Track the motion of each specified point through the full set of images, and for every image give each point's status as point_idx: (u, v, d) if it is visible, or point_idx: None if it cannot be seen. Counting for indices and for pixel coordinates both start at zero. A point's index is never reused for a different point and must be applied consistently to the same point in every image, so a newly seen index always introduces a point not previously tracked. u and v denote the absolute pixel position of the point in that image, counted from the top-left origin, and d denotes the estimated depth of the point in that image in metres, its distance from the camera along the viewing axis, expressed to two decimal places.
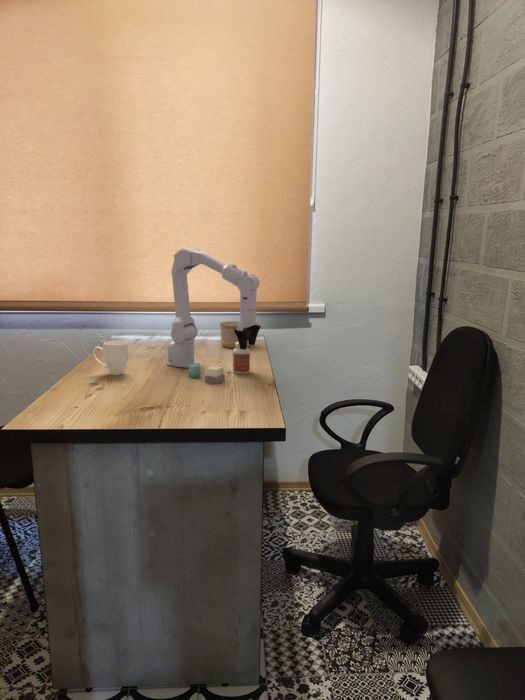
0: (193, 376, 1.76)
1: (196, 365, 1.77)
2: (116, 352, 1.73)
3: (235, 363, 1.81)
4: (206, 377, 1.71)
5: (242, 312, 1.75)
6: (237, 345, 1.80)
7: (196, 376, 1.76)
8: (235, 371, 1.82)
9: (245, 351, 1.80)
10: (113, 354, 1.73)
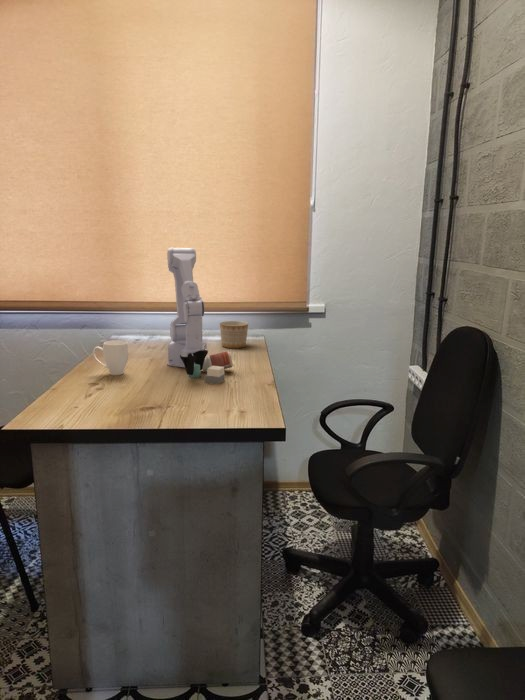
0: (193, 376, 1.76)
1: (196, 365, 1.77)
2: (116, 352, 1.73)
3: (222, 364, 1.81)
4: (206, 377, 1.71)
5: (187, 337, 1.72)
6: (203, 367, 1.81)
7: (196, 376, 1.76)
8: (230, 362, 1.81)
9: (207, 358, 1.81)
10: (113, 354, 1.73)
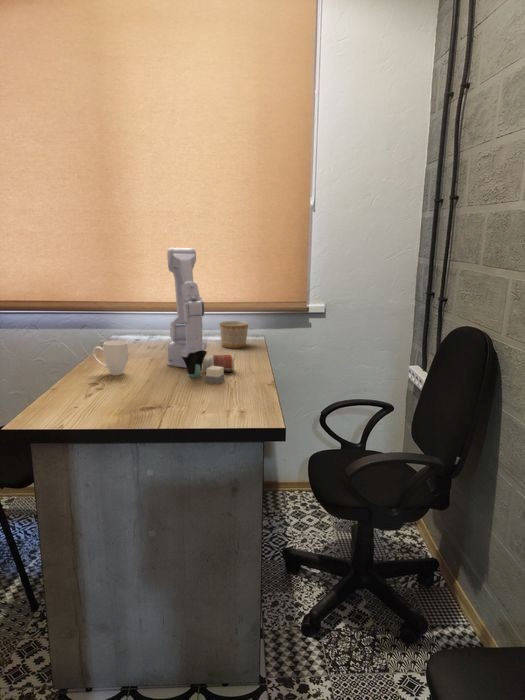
0: (193, 376, 1.76)
1: (196, 365, 1.77)
2: (116, 352, 1.73)
3: (223, 366, 1.81)
4: (206, 377, 1.71)
5: (187, 338, 1.72)
6: (205, 365, 1.80)
7: (196, 376, 1.76)
8: (231, 366, 1.82)
9: (210, 357, 1.81)
10: (113, 354, 1.73)
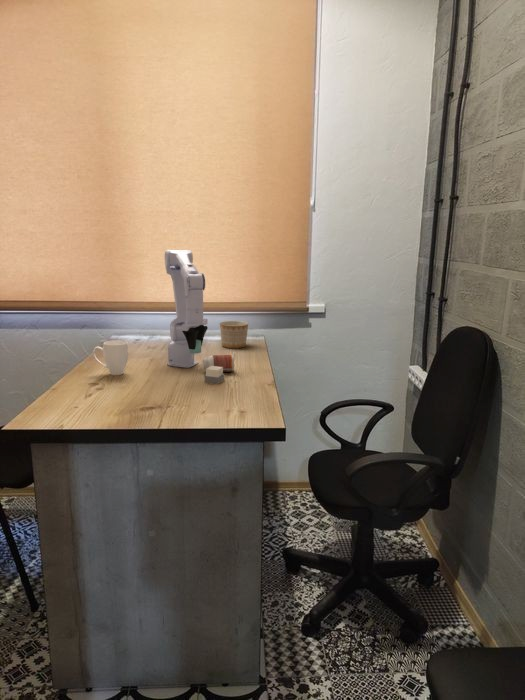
0: (194, 351, 1.73)
1: (197, 340, 1.75)
2: (116, 352, 1.73)
3: (223, 367, 1.81)
4: (206, 377, 1.71)
5: (188, 312, 1.70)
6: (205, 366, 1.80)
7: (197, 351, 1.74)
8: (231, 366, 1.82)
9: (210, 357, 1.81)
10: (113, 354, 1.73)
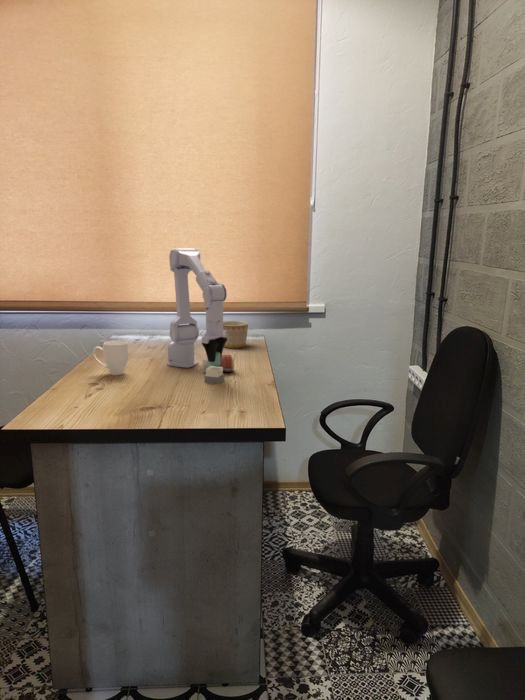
0: (213, 364, 1.69)
1: (216, 353, 1.71)
2: (116, 352, 1.73)
3: (223, 367, 1.81)
4: (206, 377, 1.71)
5: (208, 323, 1.66)
6: (205, 366, 1.80)
7: (216, 364, 1.70)
8: (231, 366, 1.82)
9: None
10: (113, 354, 1.73)
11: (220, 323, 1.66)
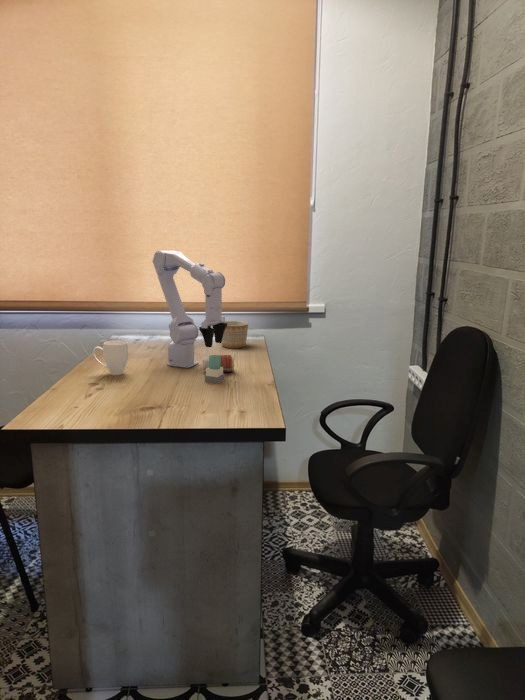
0: (213, 367, 1.70)
1: (216, 356, 1.71)
2: (116, 352, 1.73)
3: (223, 367, 1.81)
4: (206, 377, 1.71)
5: (207, 310, 1.75)
6: (205, 366, 1.80)
7: (216, 367, 1.70)
8: (231, 366, 1.82)
9: None
10: (113, 354, 1.73)
11: (219, 309, 1.76)
